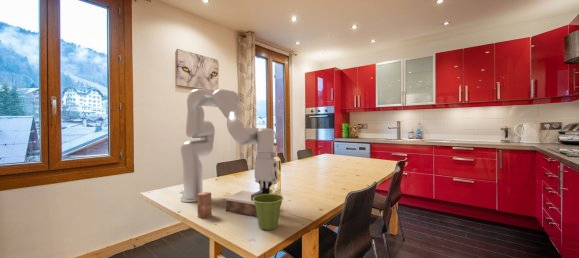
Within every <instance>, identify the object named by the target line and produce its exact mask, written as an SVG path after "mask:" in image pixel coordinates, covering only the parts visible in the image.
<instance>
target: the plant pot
mask: <svg viewBox="0 0 579 258" xmlns="http://www.w3.org/2000/svg"><path fill="white" fill-rule="evenodd" d="M283 200H284V196H282V195H281V194H276V193H270V194H262V195H258V196H255V197H254V198H253V201H254V202H255V206H256V211H257V217H256V218H257V222H258V227H259V228H260V229H261V230H266V231H271V230H275V229H276V228H277V227H278V225H279V218H280V213H281V212H280V211H281V206H282V203H283Z"/></svg>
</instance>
